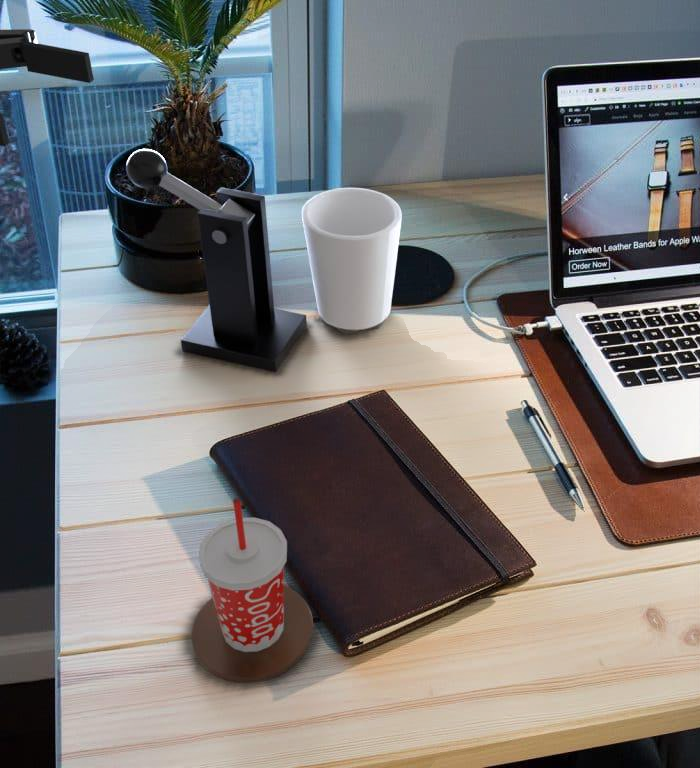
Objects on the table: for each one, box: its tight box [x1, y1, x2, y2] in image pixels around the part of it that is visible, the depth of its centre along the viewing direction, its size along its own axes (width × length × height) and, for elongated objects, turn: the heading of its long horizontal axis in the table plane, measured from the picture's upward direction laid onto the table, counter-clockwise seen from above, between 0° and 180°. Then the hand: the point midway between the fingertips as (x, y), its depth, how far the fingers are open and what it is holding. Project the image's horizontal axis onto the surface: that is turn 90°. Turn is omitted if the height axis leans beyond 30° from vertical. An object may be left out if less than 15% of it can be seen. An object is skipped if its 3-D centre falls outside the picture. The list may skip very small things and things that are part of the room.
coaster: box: [191, 585, 314, 684], centre depth 80 cm, size 9×9×1 cm
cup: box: [300, 187, 403, 335], centre depth 107 cm, size 10×10×13 cm
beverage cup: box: [197, 497, 288, 652], centre depth 75 cm, size 6×6×14 cm
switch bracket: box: [180, 187, 308, 373], centre depth 102 cm, size 10×8×16 cm
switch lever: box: [125, 148, 255, 229], centre depth 97 cm, size 12×4×4 cm, turn 77°
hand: (49, 97), depth 94 cm, fingers open, 13 cm apart
